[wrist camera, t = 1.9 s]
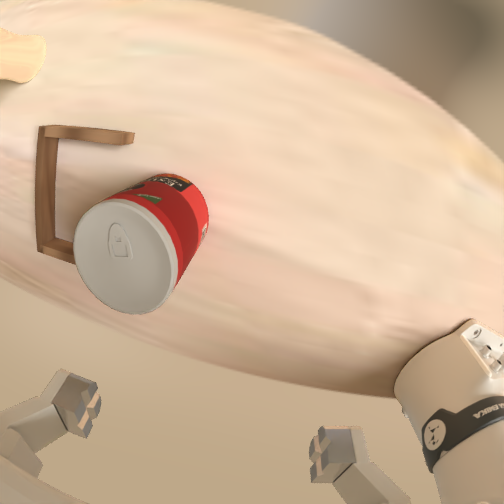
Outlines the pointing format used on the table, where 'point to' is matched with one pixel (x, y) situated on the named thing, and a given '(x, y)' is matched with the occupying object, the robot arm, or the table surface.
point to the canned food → (140, 242)
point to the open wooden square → (46, 181)
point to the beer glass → (21, 56)
